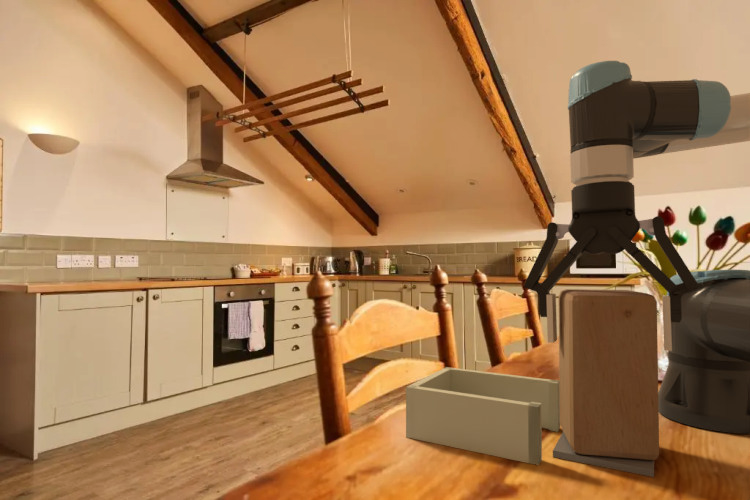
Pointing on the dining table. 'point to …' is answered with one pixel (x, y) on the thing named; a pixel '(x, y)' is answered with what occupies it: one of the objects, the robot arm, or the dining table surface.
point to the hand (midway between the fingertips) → (606, 345)
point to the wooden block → (609, 372)
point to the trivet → (603, 459)
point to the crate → (483, 412)
